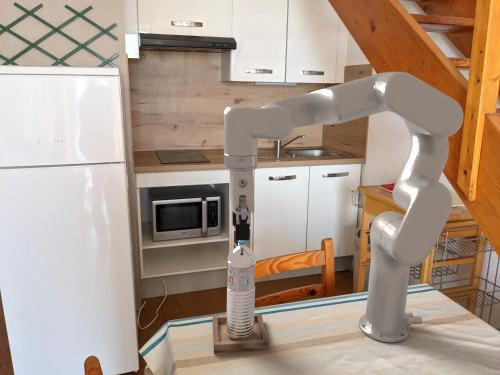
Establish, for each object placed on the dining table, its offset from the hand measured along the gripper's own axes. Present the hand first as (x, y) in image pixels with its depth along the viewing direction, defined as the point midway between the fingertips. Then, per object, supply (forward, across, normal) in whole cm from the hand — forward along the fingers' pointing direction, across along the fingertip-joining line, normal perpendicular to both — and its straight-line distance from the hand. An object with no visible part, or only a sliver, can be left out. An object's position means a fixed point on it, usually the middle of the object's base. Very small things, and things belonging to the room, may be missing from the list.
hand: (240, 232), depth 102 cm
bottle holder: (+28, 0, 0) cm, 28 cm away
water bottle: (+27, 0, 0) cm, 27 cm away
